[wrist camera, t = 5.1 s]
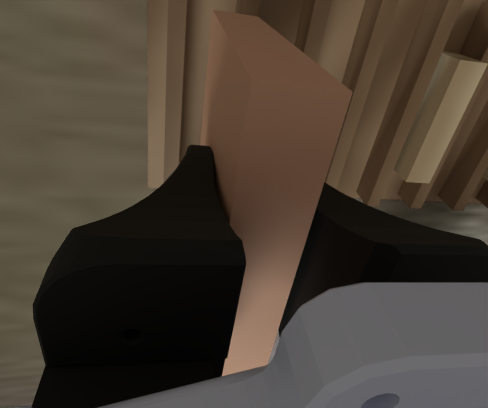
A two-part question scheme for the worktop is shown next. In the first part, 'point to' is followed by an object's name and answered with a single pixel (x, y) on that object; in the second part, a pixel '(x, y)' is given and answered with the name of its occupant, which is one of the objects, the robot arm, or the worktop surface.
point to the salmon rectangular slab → (266, 163)
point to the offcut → (438, 116)
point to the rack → (344, 70)
